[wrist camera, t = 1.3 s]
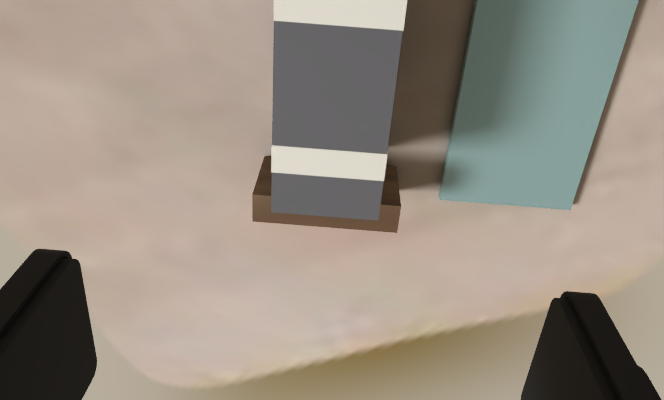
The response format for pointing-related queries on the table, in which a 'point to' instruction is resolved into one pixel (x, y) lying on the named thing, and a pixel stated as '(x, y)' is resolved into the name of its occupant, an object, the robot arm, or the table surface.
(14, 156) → the table surface
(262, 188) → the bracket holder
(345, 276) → the table surface
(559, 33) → the rubber mat
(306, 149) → the banded grey block
